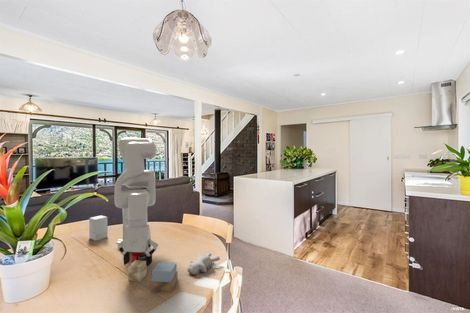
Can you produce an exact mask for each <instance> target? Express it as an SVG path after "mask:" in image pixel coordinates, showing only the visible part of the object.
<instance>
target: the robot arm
mask: <svg viewBox="0 0 470 313" xmlns="http://www.w3.org/2000/svg"><path fill="white" fill-rule="evenodd" d="M117 144H118V150H119V153H120V156H121V158H122V161H123V162H122V163H123V172H122V173H121V174H120V175H118V178H117V179H116V180H115V183H114V193H113V195H114V196H113V197H114V200H113V201H114V206H115V207H116V208H118V209H121V210H122V239H121V238H118V239H117V241H116V245H117V247H118V248H119V251H120V252H121V255H123V265H124V266H126V265H128V264H129V263H131V252H145V253H146V254H147V256H146V267H149V266H150V265H151V264H152V262H153V254H154V253H155V252H156V251H157V249H158V247H159V244H158V243H157V242H156V241H154V240H152V235H151V234H152V233H151V229H150V225H149V224H148V207H151V206H152V207H153V206H154V205H155V204H156V200H157V196H156V194H157V193H156V191H157V190H156V175H155V173H154V171H153V170H152V169H151V170H150V169H145V168H146V166H145V159H146V160H147V159H149V160H150V159H151V160H152V159H154V158H155V157H156V155H157V147H156V144H155V142H154V140H153V139H151V138H147V137H145V138H144V137H142V138H141V137H123V138H120V139H119V140H118V142H117ZM123 185H124V186H125V187H127V188H143V189H128V190H127V189H126V190H122V187H123ZM151 247H152V248H151Z"/></svg>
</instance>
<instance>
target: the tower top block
mask: <svg viewBox="0 0 470 313" xmlns="http://www.w3.org/2000/svg"><path fill="white" fill-rule="evenodd" d="M176 271H177V262H165V261H159V262H158V264H157V265H156V266H155V267H154V268H153V269H152V272H151V273H152V274H151V276H152V278H151V279H152V280H151V282H171V281H172V279H173V278H174V276H175V274H176Z"/></svg>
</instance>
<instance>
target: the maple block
mask: <svg viewBox="0 0 470 313" xmlns="http://www.w3.org/2000/svg"><path fill="white" fill-rule="evenodd" d="M127 269H128V275H127V276H128V278H127V279H128V281H130V282H132V281H133V282H141V281H143V279H144V278H145V277H146V276H147V266H146V261H139V260H135V261H134V262H133V263H131V262H130V264H129V265H128V267H127Z"/></svg>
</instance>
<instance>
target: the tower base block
mask: <svg viewBox="0 0 470 313" xmlns="http://www.w3.org/2000/svg"><path fill="white" fill-rule="evenodd" d="M177 282H178V271H177V270H176V274H175V276H174V278H173V279H172V281H171V282H152V281H151V282H150V293H153V294H154V293H173V292H174V290H175V287H176V285H177Z"/></svg>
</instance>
